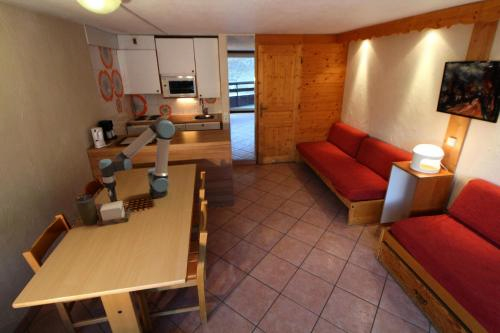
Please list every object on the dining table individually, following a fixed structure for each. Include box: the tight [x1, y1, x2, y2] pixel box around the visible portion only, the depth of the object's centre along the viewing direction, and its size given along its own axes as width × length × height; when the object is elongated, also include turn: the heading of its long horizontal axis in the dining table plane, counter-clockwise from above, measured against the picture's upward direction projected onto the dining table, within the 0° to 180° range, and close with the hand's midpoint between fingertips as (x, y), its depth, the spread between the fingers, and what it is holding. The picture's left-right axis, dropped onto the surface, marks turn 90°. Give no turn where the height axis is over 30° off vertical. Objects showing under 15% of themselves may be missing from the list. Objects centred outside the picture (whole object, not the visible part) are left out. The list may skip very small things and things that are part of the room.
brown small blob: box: [95, 200, 104, 213], centre depth 186 cm, size 6×6×6 cm
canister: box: [75, 193, 100, 226], centre depth 170 cm, size 11×10×20 cm
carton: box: [99, 200, 126, 221], centre depth 173 cm, size 12×10×11 cm
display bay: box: [96, 207, 131, 227], centre depth 176 cm, size 18×14×3 cm
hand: (116, 209), depth 183 cm, fingers closed
